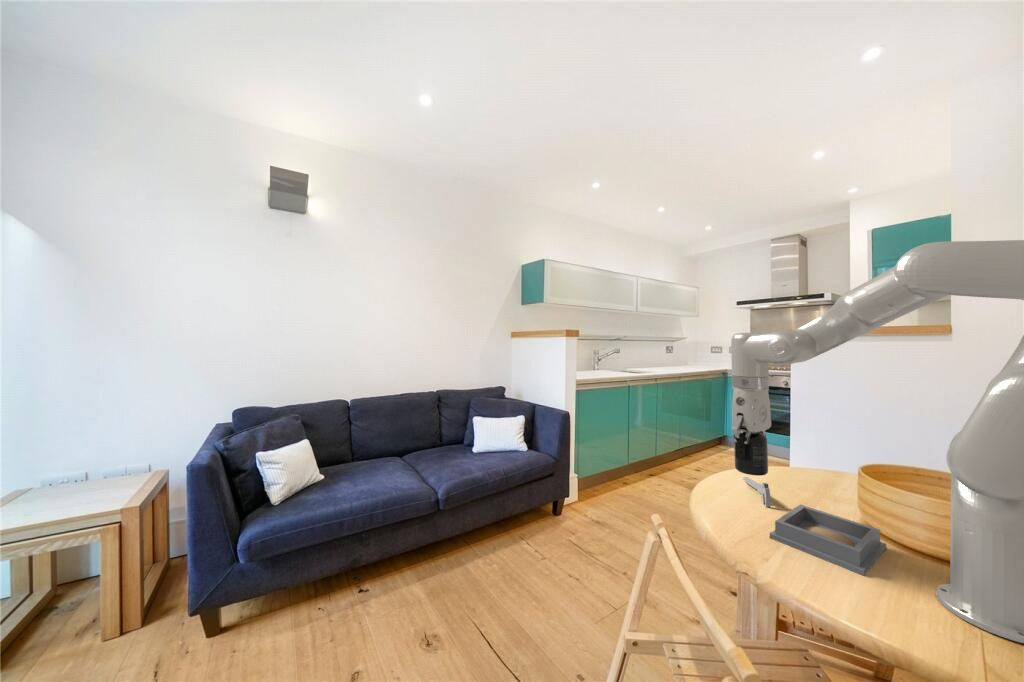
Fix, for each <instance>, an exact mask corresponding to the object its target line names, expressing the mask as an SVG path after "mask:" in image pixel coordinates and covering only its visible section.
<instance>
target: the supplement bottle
mask: <svg viewBox="0 0 1024 682" xmlns="http://www.w3.org/2000/svg"><path fill="white" fill-rule="evenodd" d="M741 429H743V430H747V428H742V427H741ZM742 434H743V435H744V436H746V433H742ZM734 439H735V438H734V437H733V444H734V445H733V446H734V449H733V450H734V468H735V469H736V470H737V471H738V472H739V473H742V474H745V475H750V476H766V475H767V474H768V473H769V454H768V452H769V450H768V437H767V435H766V436H765V435H764V434H762V433H761V432H758V433H752V432H751V436H750V440H749V444H751V460H750V461H746V460H742V459H738V458H736V449H735V441H734Z"/></svg>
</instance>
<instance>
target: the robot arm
mask: <svg viewBox="0 0 1024 682" xmlns="http://www.w3.org/2000/svg"><path fill="white" fill-rule="evenodd" d="M947 296H958V297H973V298H986V299H987V298H990V299H1007V300H1008V299H1011V300H1021V301H1024V239H1013V240H1011V239H1010V240H1009V239H1008V240H973V241H971V240H969V241H968V240H967V241H966V240H965V241H963V240H959V241H958V240H955V241H953V240H952V241H951V240H950V241H933V242H928V243H927V242H926V243H923V244H921V245H917V246H915V247H913V248H910V249H909V250H908V251H905V253H904V254H902V255H901V256H900V258H899V259H898V260H897V262H896V264H895V266H893V267H891V268H889V269H887V270H886V271H884V272H881V273H880V274H878V275H877V276H874V277H872V278H871V279H869V280H868V281H866V282H863V283H862V284H860V285H858V286H857V287H855V288H853V289H851V290H850V289H849V291H847V292H845V293H843V294H842V295H841V296H840V297H838V298H837V300H836V301H835V303H834V304H833V305H832V306H831V308H829V309H828V310H827V311H826V312H824V313H823V314H821V315H820V316H817V318H815V319H813V320H811V321H809V322H807V323H805V324H804V325H801V326H800V327H797V328H795V329H793V330H781V331H773V332H766V333H762V332H738V333H734V334H733V335H732V336H731V342H730V343H731V347H730V348H731V352H730V353H731V390H733V394H732V405H731V406H732V407H731V422H732V423H731V424H732V426H731V432H732V434H733V442H734V441H735V449H736V458H738V459H742V460H746V461H750V460H751V444H749V440H750V436H751V432H752V433H758V432H761V433H762V434H764V435H765V436H766V437H767V433H766V431H767V430H768V429H771V427H772V412H771V401H770V394H769V391H770V389H769V388H770V387H769V386H770V385H769V384H770V381H769V379H770V376H769V375H770V373H769V371H770V370H769V369H770V368H769V364H773V365H775V364H776V365H782V366H785V365H793V364H797V363H799V364H800V363H803V362H807V361H809V360H811V359H813V358H816V357H819V356H820V355H823V354H824V353H827V352H829V351H831V350H833V349H835V348H838V347H839V346H841V345H844V344H845V343H848V342H850V341H852V340H854V339H856V338H858V337H860V336H864V335H866V334H868V333H870V332H871V331H874V330H876V329H878V328H881V327H883V326H884V325H886V324H888V323H891V322H893V321H895V320H896V319H898V318H901V317H904V316H906V315H908V314H909V313H911V312H913V311H916V310H919V309H921V308H922V307H925V306H927V305H929V304H932V303H934V302H936V301H939V300H941V299H943V298H945V297H947ZM741 427H742V428H747V430H743V429H741ZM742 433H746V436H744V435H743V434H742ZM734 438H735V439H734ZM946 463H947V467H948V470H949V471H950V551H949V555H950V565H949V568H950V570H949V571H950V574H949V575H950V576H949V579H950V583H944V584H940V585H938V586H937V587H936V589H935V592H936V598H937V600H938V601H939V602H940V604H941V605H942V606H943V607H945V608H946V609H948V611H949V612H951V613H952V614H954V615H955V616H957V617H958V618H961V619H963V621H966V622H967V623H969V624H972V625H974V626H975V627H977V628H980V629H982V630H984V631H986V632H989V633H991V634H994V635H995V636H999V637H1001V638H1005V639H1007V640H1010V641H1013V642H1016V643H1020V644H1024V334H1023V335H1022V337H1021V339H1020V341H1019V344H1018V345H1017V347H1016V348H1015V349H1014V351H1013V353H1012V355H1010V358H1009V359H1008V361H1007V362H1006V363H1005V365H1004V366H1003V368H1001V370H1000V371H999V372H998V373H997V374H996V375H995V376H993V378H992V379H991V380H990V381H989V383H988V384H987V386H986V389H985V390H984V393H983V394H982V396H981V398H980V399H979V401H978V403H977V404H976V406H975V408H974V409H973V411H972V413H971V414H970V415H969V417H968V418H967V420H966V422H965V423H964V425H963V427H962V428H961V430H960V431H958V432H957V433H956V434H955V435H954V436H953V437H952V439H951V441H950V444H949V447H948V449H947V453H946Z"/></svg>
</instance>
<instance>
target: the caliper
mask: <svg viewBox="0 0 1024 682" xmlns="http://www.w3.org/2000/svg"><path fill="white" fill-rule="evenodd" d="M742 480H743V481H744V480H745V481H746V482H745V481H744V482H745V483H746V484H747V485H749V486H751V487H752V488H753V489H755V490H756V493H757V494H759V495H761V498H762V499H761V501H762V504H763V505H765V507H766V508H771V490H770V487H769V484H768V483H767V482H762V483H760V482H759V483H758V482H756V481H754V480H753V479H751V478H750V477H748V476H744V477H742Z"/></svg>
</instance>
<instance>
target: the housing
mask: <svg viewBox="0 0 1024 682" xmlns="http://www.w3.org/2000/svg"><path fill="white" fill-rule="evenodd" d="M774 526H775V527H774V530H773V531H771V532H770V533H769V538H770V539H772V540H774V541H777V542H779V543H782V544H784V545H787V546H789V547H792V548H794V549H797V550H799V551H801V552H804V553H806V554H809V555H811V556H814V557H816V558H819V559H822V560H824V561H827V562H829V563H832V564H833V565H837V566H839V567H841V568H844V569H845V570H849V571H850V572H853V573H856V574H858V575H861V576H865V575H866V574H867V573H868V572H869V571H870V570H871V568H872V567H873V566H874V564H875V563H876V562H877V561H878V559H879V558H880V557H881V556H882V555H883V553H884V552H885V551H886V549H887V543H884V542H882V541H881V529H880V528H876V527H873V526H870V525H866V524H864V523H860V522H857V521H854V520H851V519H848V518H844V517H842V516H838V515H835V514H832V513H829V512H825V511H822V510H820V509H819V510H818V509H815V508H812V507H810V506H806V505H803V504H799V505H797V506H796V507H794V508H793V509H791V510H790V511H788V512H787V513H785V514H783V515H782V516H781V517H779V518H778V519H776V520H775V522H774Z"/></svg>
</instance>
